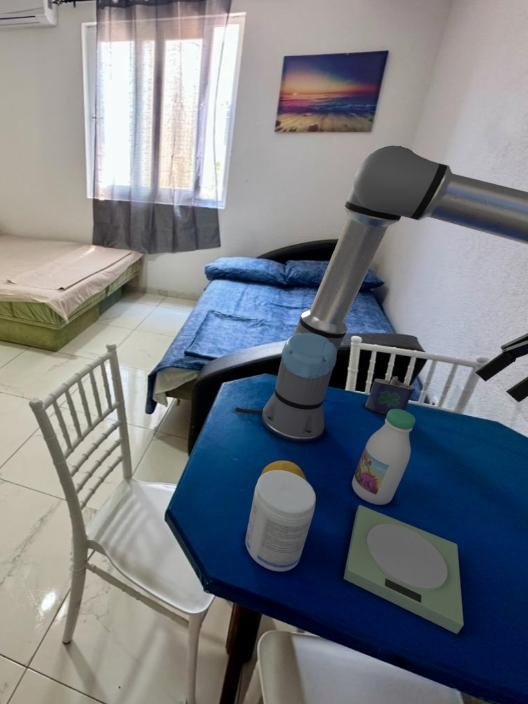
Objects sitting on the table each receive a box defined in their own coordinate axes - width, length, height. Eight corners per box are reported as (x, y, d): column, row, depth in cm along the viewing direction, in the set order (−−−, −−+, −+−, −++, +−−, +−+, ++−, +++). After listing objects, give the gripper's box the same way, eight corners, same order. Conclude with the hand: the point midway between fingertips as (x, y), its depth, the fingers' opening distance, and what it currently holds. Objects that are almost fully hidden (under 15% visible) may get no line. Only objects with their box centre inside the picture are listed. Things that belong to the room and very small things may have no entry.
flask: (365, 408, 112) (376, 375, 107) (364, 403, 114) (376, 370, 109) (403, 418, 108) (417, 384, 103) (401, 412, 111) (415, 379, 106)
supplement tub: (310, 556, 72) (331, 497, 65) (274, 584, 67) (292, 524, 60) (268, 518, 79) (282, 461, 72) (233, 541, 74) (244, 482, 67)
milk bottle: (382, 479, 89) (413, 404, 79) (398, 507, 82) (434, 430, 72) (345, 476, 89) (372, 401, 80) (358, 504, 82) (389, 426, 73)
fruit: (271, 516, 79) (279, 487, 75) (250, 485, 86) (256, 457, 82) (310, 507, 81) (319, 478, 78) (286, 478, 88) (294, 450, 84)
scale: (343, 578, 68) (348, 566, 67) (355, 513, 80) (360, 501, 79) (457, 634, 61) (466, 622, 59) (451, 553, 73) (459, 541, 72)
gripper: (678, 339, 64) (545, 421, 72) (573, 316, 87) (481, 381, 95) (639, 306, 65) (512, 392, 73) (546, 292, 88) (457, 359, 96)
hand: (494, 386), depth 84 cm, fingers open, 13 cm apart
